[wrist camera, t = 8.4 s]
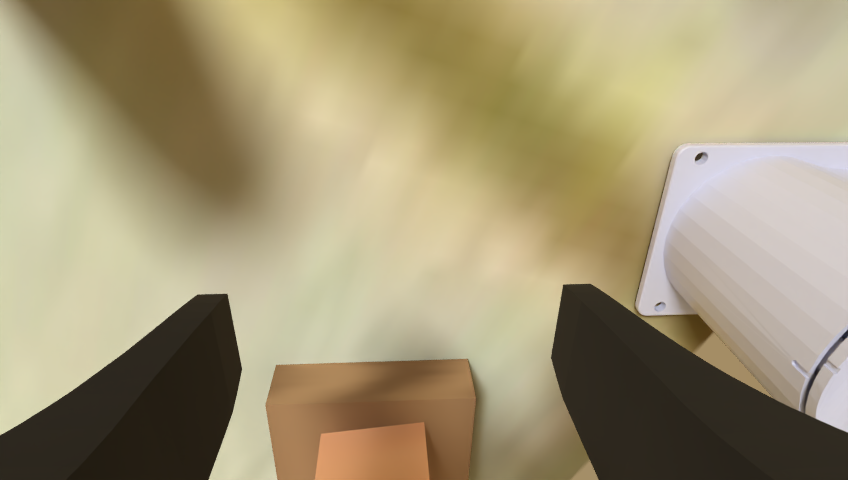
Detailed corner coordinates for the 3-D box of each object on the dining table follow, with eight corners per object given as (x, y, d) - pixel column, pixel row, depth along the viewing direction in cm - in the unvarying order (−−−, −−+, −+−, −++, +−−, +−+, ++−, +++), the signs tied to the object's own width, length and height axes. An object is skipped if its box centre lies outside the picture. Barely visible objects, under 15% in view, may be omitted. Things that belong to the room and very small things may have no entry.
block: (466, 352, 25) (476, 398, 23) (456, 476, 30) (463, 526, 27) (278, 357, 25) (265, 405, 22) (295, 483, 29) (286, 536, 26)
